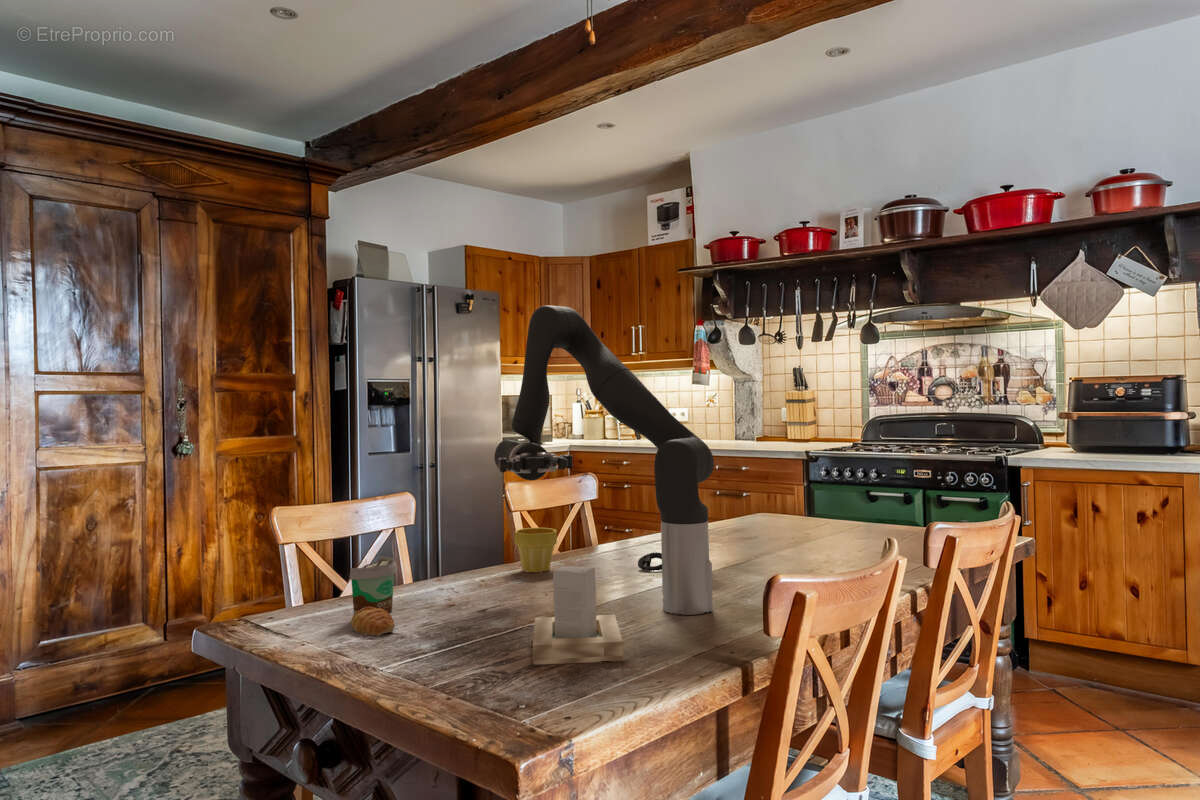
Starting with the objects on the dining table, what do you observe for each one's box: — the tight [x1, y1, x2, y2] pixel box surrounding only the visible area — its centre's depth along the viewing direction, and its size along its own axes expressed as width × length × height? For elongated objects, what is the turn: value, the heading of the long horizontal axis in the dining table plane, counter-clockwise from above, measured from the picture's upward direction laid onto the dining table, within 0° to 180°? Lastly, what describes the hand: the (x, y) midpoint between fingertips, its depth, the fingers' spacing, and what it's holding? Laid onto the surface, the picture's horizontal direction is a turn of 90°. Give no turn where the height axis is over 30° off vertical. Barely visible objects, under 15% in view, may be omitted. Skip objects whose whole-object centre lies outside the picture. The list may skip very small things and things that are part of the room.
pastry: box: [350, 606, 396, 637], centre depth 142 cm, size 9×7×4 cm
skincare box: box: [552, 565, 597, 639], centre depth 130 cm, size 6×4×12 cm
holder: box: [532, 614, 624, 666], centre depth 129 cm, size 14×16×3 cm
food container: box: [349, 556, 398, 615], centre depth 154 cm, size 12×6×10 cm, turn 168°
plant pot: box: [514, 527, 558, 573], centre depth 192 cm, size 10×10×10 cm
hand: (540, 465), depth 146 cm, fingers open, 8 cm apart
